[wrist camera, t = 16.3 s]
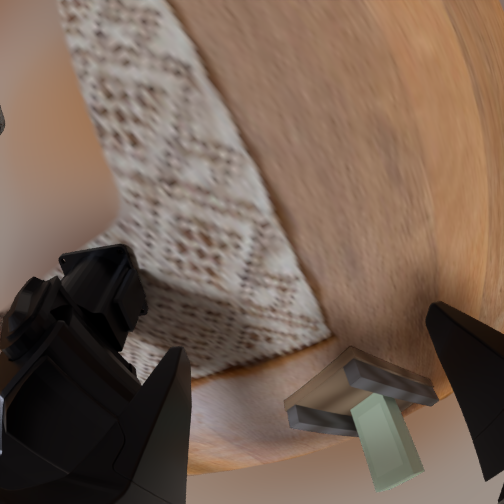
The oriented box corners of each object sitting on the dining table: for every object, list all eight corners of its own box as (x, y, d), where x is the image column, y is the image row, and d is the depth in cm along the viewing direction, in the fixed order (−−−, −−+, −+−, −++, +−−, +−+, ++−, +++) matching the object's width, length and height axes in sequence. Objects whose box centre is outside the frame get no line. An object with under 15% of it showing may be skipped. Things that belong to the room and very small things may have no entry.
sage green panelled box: (349, 409, 31) (375, 492, 20) (379, 388, 30) (413, 473, 19) (363, 412, 32) (389, 489, 21) (391, 391, 31) (424, 471, 20)
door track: (283, 401, 31) (288, 428, 28) (350, 345, 27) (363, 375, 24) (377, 419, 37) (384, 439, 34) (429, 379, 34) (440, 399, 30)
